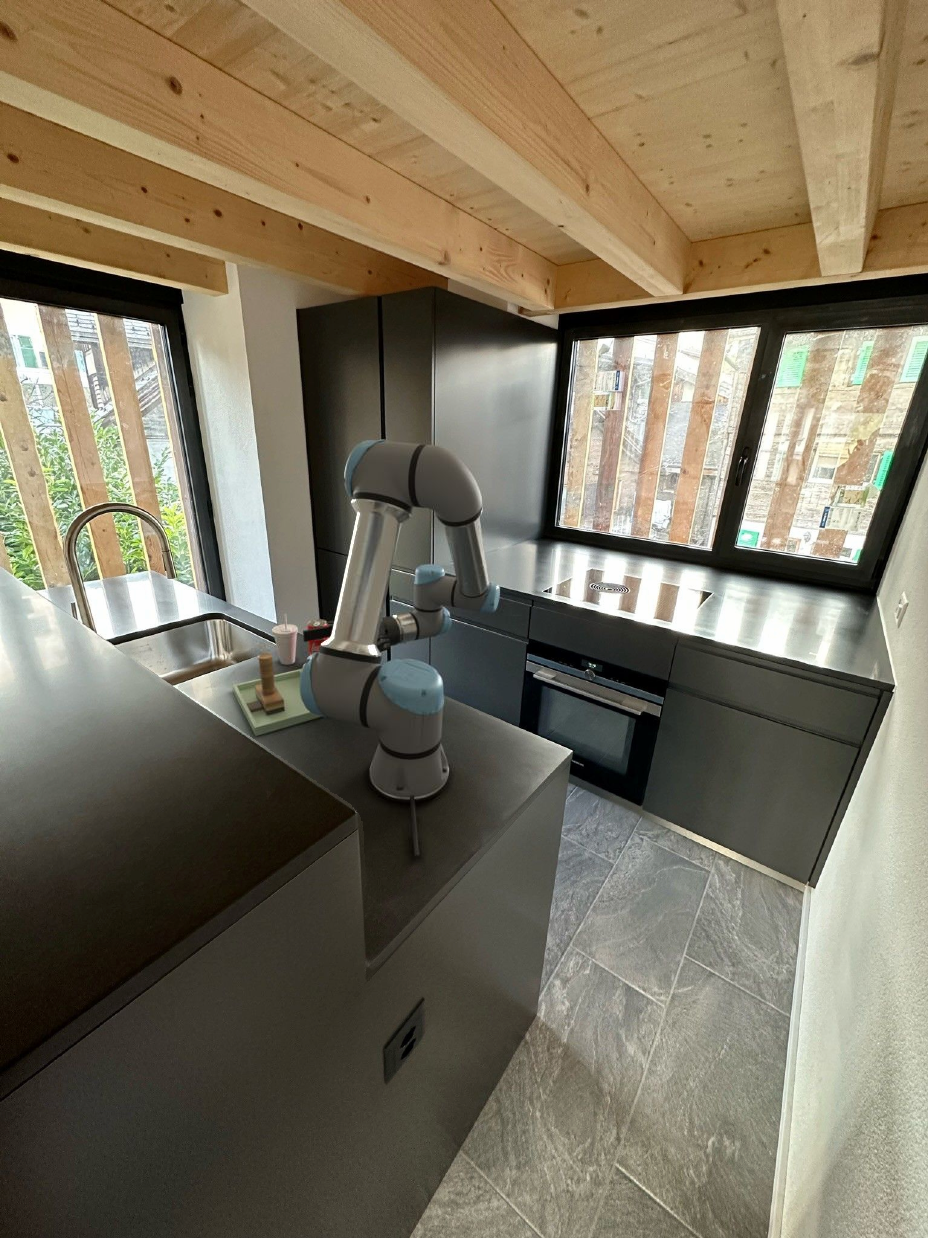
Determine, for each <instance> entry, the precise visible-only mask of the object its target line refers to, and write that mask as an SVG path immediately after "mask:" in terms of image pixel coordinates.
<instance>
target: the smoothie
mask: <svg viewBox="0 0 928 1238" xmlns="http://www.w3.org/2000/svg"><path fill="white" fill-rule="evenodd" d="M283 621H284V623H282V624H278V625H276V626H274V627H273V628H272V629H271V632H272V635H273V636H274V641H275V645H276V649H277V653H278V657H279V662H280V664H282V665H285V666H287V665H289V666H290V665H292V664H294V663H295V662H296V650H297V635H298V632H299V629H298V626H297V625H295V624H291V623H288V620H287V613H283Z"/></svg>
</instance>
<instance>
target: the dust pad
mask: <svg viewBox="0 0 928 1238" xmlns="http://www.w3.org/2000/svg"><path fill="white" fill-rule="evenodd" d="M247 706H248V708H249V710H250V712H255V711H258V710H262V709H263V706H262V705H261V703H260V701H259V700H258V701H254V702H250V703H247Z"/></svg>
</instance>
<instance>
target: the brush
mask: <svg viewBox="0 0 928 1238" xmlns="http://www.w3.org/2000/svg"><path fill="white" fill-rule="evenodd" d="M258 666H259V676H260V679H261V684H259V685H255V692H256V698H257V699H258V700H259V701H260V703H261V705H262V706H263V710H264V712H265V713H266V715H267V716H268V715H272V714H275V713H279V712H282V711H285V707H284V699H283V698H282V696H281V694H280V693H279V691H278V690H277V688H276V687H275V682H274V675H275V674H274V663H273V655H272V653H270V652H263V653H261V654H259V655H258Z"/></svg>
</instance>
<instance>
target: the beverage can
mask: <svg viewBox="0 0 928 1238" xmlns="http://www.w3.org/2000/svg"><path fill="white" fill-rule="evenodd" d="M306 626H307V627H306V628H307V629H306V630H310V629H315V628H320V627H325V626H328V621H327V620H325V619H321V618H315V619H311V620H309V621H308V622H307V625H306ZM329 638H330V637H326V638H322V639H317V640H312V641H307V642H308V645H307V646H308V657H309V656H310V655H312V654H313V653H316V652H319V651H320V646H321V643H323V642H324V641H326V640H327V639H329Z"/></svg>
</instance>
